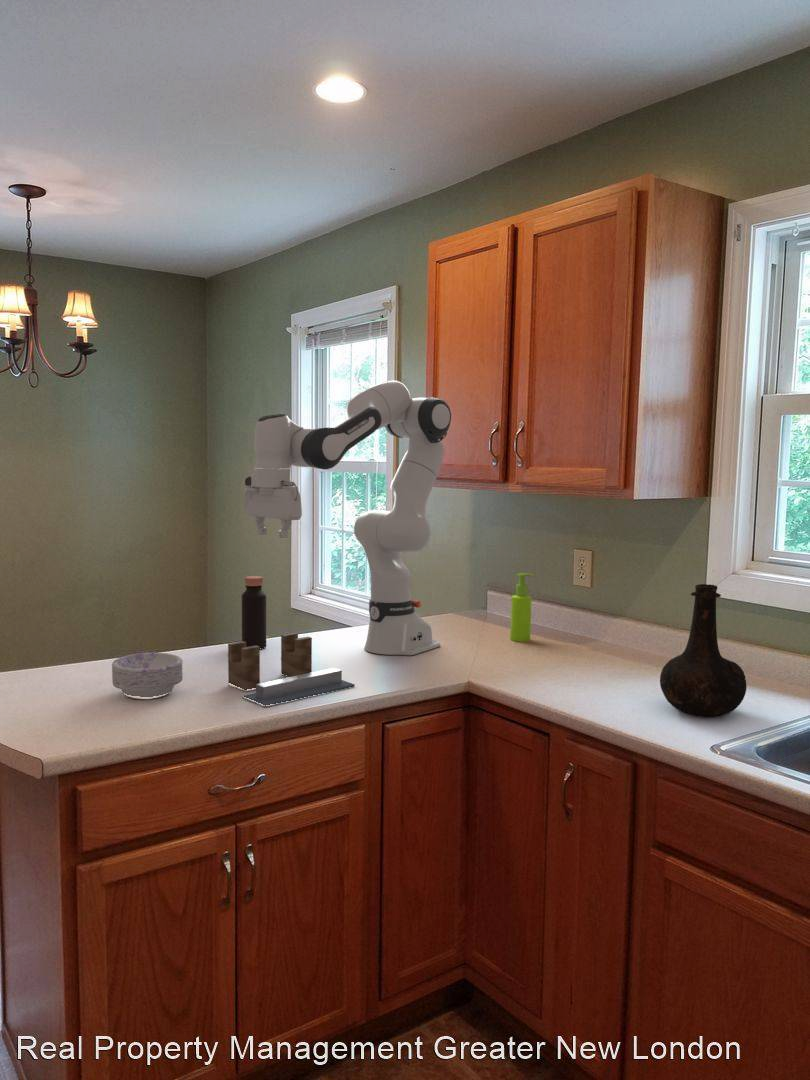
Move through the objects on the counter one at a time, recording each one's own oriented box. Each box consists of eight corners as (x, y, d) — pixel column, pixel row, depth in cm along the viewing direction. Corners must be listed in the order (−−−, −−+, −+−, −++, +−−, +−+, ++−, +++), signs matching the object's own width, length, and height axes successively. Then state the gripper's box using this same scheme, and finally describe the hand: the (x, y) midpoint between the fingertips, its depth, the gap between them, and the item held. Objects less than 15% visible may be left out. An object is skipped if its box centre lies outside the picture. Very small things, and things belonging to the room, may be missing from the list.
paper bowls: (155, 707, 179) (155, 671, 178) (97, 699, 184) (96, 664, 183) (196, 689, 193) (195, 655, 192) (141, 682, 198) (140, 649, 197)
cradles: (294, 671, 209) (294, 632, 208) (311, 677, 204) (311, 637, 203) (228, 685, 197) (228, 643, 195) (245, 691, 191) (244, 649, 190)
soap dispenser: (534, 642, 247) (537, 575, 245) (511, 641, 247) (513, 574, 245) (532, 637, 253) (534, 572, 250) (509, 637, 253) (511, 572, 251)
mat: (331, 678, 203) (331, 676, 203) (354, 686, 197) (354, 684, 197) (242, 698, 186) (242, 695, 186) (265, 707, 180) (265, 704, 180)
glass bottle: (727, 731, 169) (735, 595, 166) (644, 712, 181) (650, 584, 178) (756, 711, 183) (764, 585, 180) (677, 695, 194) (683, 576, 192)
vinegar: (261, 651, 230) (260, 579, 228) (238, 649, 232) (237, 578, 230) (269, 645, 237) (269, 576, 235) (247, 644, 238) (247, 575, 236)
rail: (333, 680, 200) (333, 667, 200) (341, 682, 198) (341, 670, 198) (255, 697, 185) (255, 684, 185) (263, 700, 183) (263, 687, 183)
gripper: (308, 481, 200) (307, 539, 201) (260, 478, 215) (260, 532, 216) (286, 482, 196) (286, 540, 197) (239, 479, 210) (239, 533, 212)
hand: (272, 536), depth 207 cm, fingers open, 8 cm apart
